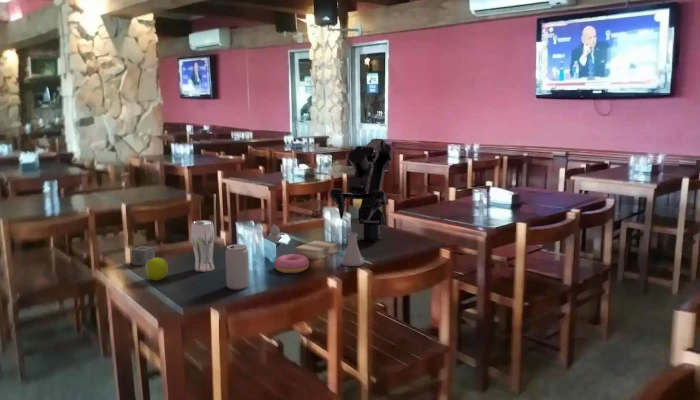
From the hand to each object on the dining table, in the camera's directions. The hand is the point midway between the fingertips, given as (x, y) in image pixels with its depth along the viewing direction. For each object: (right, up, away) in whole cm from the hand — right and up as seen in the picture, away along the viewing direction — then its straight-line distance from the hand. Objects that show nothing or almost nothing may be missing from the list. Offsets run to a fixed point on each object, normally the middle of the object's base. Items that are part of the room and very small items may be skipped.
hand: (354, 219), depth 197 cm
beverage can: (-33, -19, -28) cm, 47 cm away
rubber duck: (-28, -10, +19) cm, 36 cm away
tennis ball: (-59, -18, -21) cm, 65 cm away
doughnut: (-20, -16, -11) cm, 27 cm away
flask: (-1, -14, -5) cm, 15 cm away
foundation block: (-13, -12, +6) cm, 19 cm away
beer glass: (-47, -16, -11) cm, 51 cm away
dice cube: (-69, -14, -4) cm, 70 cm away
